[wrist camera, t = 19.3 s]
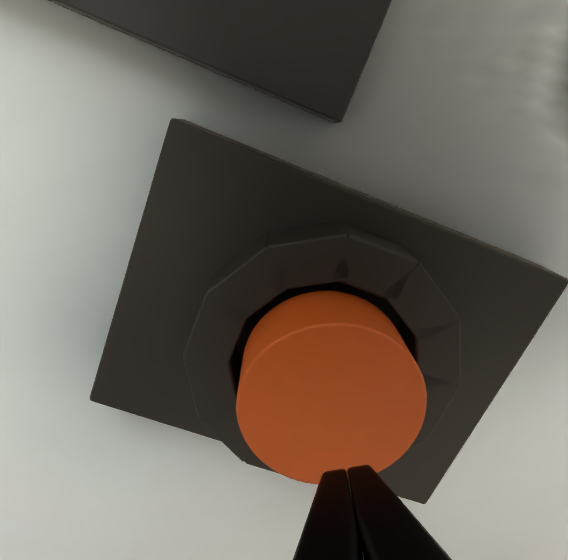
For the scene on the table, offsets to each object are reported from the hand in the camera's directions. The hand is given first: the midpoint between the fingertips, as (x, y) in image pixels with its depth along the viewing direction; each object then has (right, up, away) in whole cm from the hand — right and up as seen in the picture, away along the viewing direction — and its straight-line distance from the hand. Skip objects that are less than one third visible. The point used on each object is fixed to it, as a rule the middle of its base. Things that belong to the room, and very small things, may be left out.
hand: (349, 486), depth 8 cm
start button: (0, +1, +4) cm, 4 cm away
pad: (0, +2, +7) cm, 7 cm away
